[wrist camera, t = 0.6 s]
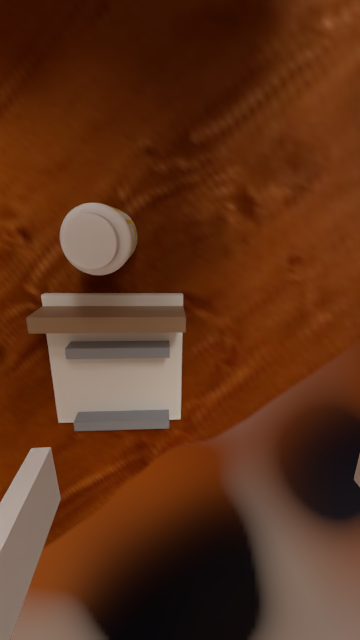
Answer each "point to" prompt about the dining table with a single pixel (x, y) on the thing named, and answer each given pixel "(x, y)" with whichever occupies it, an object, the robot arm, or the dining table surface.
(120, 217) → the supplement bottle
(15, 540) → the robot arm
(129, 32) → the dining table surface
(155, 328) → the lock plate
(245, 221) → the dining table surface
